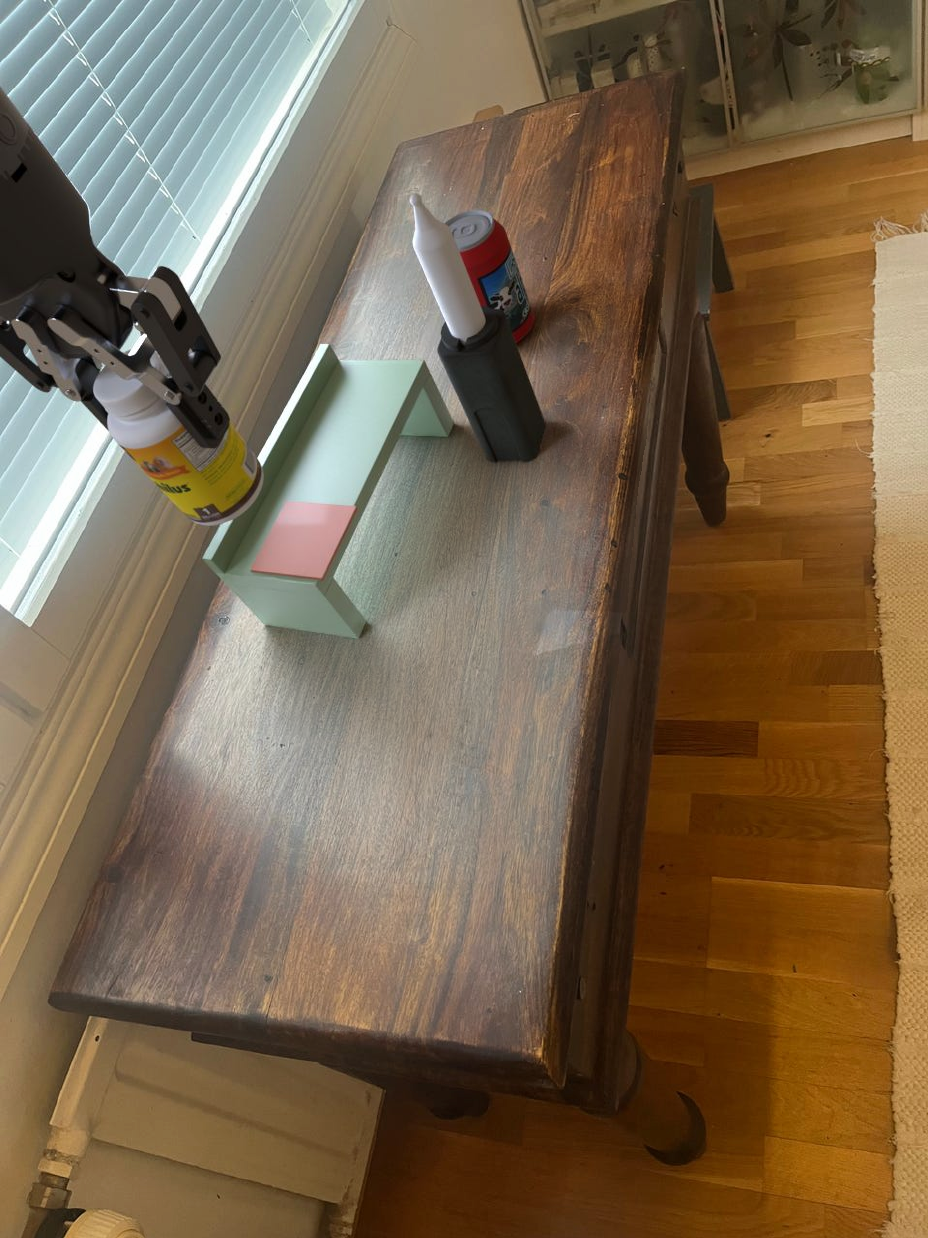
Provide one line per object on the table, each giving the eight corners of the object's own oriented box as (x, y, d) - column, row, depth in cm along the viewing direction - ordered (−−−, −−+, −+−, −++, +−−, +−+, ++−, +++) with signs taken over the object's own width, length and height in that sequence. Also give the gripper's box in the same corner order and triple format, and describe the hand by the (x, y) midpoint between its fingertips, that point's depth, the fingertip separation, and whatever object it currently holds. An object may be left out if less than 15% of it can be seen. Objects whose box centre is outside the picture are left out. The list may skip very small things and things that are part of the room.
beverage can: (532, 351, 89) (495, 245, 80) (466, 361, 92) (423, 260, 82) (539, 303, 93) (505, 197, 83) (476, 314, 95) (435, 212, 86)
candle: (548, 418, 84) (456, 165, 64) (536, 462, 81) (437, 213, 62) (496, 421, 86) (391, 176, 66) (483, 463, 83) (370, 223, 64)
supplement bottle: (171, 511, 58) (61, 395, 50) (231, 447, 59) (133, 324, 51) (223, 543, 55) (113, 425, 46) (285, 476, 56) (189, 349, 48)
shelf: (363, 639, 77) (309, 571, 69) (263, 624, 82) (201, 558, 74) (459, 422, 87) (421, 341, 79) (365, 420, 92) (320, 343, 84)
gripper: (-205, 234, 41) (55, 479, 54) (14, 211, 34) (247, 495, 48) (-105, 127, 44) (117, 383, 57) (113, 87, 37) (306, 386, 51)
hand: (175, 433), depth 52 cm, fingers closed on supplement bottle, 5 cm apart
